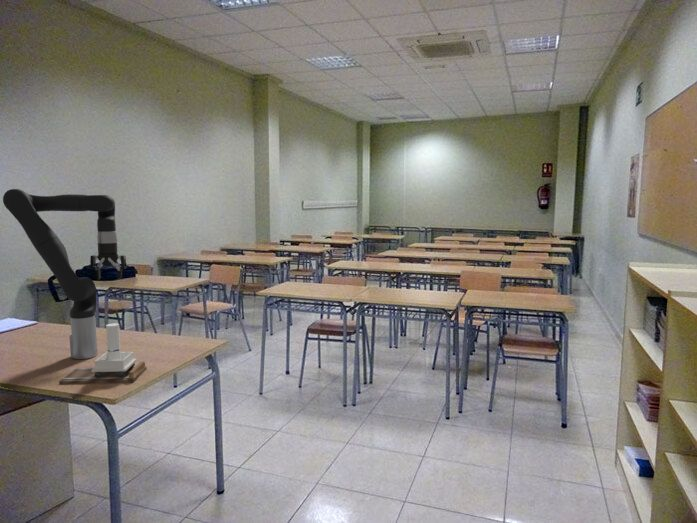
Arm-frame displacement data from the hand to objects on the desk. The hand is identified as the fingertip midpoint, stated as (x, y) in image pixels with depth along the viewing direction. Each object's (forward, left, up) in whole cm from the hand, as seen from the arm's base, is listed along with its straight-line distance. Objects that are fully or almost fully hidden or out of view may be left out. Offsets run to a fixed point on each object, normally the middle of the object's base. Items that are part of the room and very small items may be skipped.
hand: (109, 279), depth 216 cm
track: (+10, -34, -31) cm, 48 cm away
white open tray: (+14, -34, -30) cm, 48 cm away
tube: (+14, -34, -27) cm, 46 cm away
